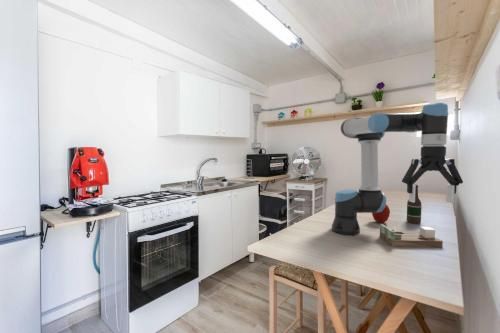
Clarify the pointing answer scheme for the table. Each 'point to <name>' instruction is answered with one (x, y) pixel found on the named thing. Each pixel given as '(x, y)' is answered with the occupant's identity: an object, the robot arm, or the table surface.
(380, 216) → the apple
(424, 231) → the ivory block
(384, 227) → the board
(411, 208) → the beer bottle
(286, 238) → the table surface
